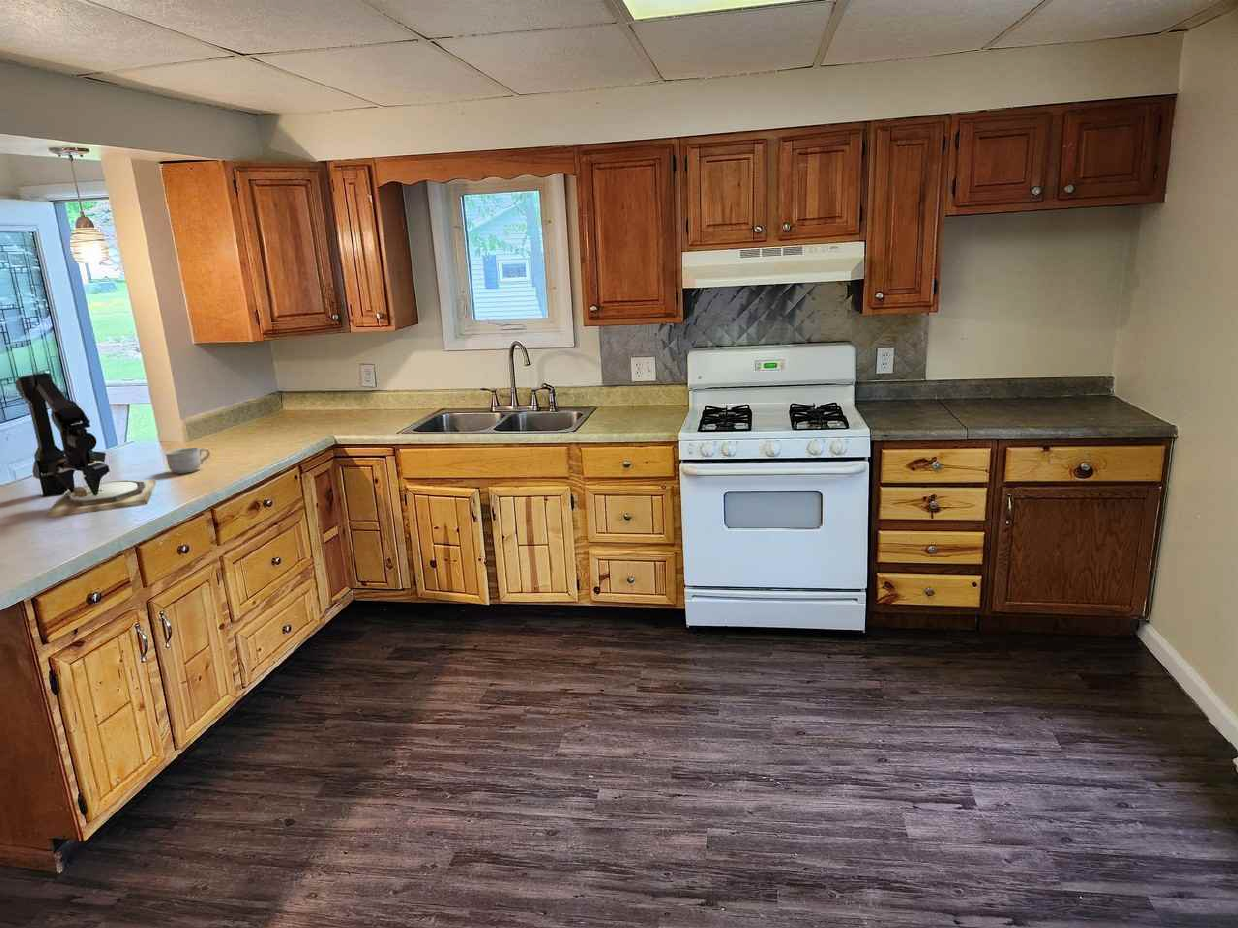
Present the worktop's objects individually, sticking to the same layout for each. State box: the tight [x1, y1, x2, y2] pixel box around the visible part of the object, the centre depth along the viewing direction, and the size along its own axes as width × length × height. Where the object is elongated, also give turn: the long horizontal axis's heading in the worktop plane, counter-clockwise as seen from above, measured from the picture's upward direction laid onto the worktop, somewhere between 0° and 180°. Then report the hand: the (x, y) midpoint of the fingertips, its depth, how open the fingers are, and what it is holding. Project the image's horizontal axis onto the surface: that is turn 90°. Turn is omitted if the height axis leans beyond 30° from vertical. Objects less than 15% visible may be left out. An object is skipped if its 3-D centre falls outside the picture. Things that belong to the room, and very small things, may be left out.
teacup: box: [165, 447, 211, 474], centre depth 289 cm, size 14×11×8 cm
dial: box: [69, 481, 138, 500], centre depth 257 cm, size 19×19×4 cm
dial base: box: [47, 479, 157, 518], centre depth 257 cm, size 26×26×3 cm
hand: (84, 493), depth 252 cm, fingers open, 9 cm apart
